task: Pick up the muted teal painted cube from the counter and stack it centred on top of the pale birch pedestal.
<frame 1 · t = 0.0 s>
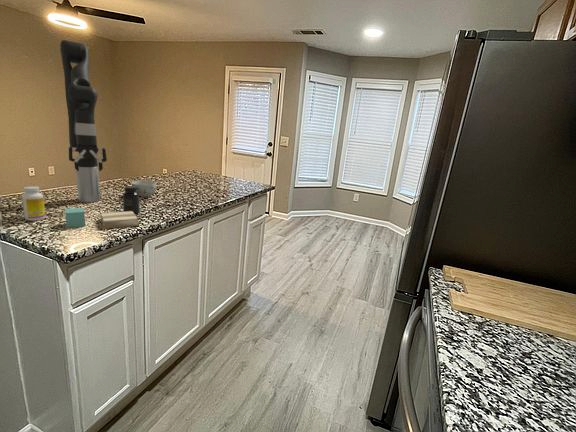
hand: (89, 170, 141), 17 cm above the countertop, tool pointing down, fingers open, 8 cm apart
teacup: (145, 196, 173), on the countertop
supplement bottle: (131, 212, 144), on the countertop
teal cube: (75, 224, 122), on the countertop
supplement bottle 2: (35, 219, 124), on the countertop
birch pedestal: (119, 222, 129), on the countertop
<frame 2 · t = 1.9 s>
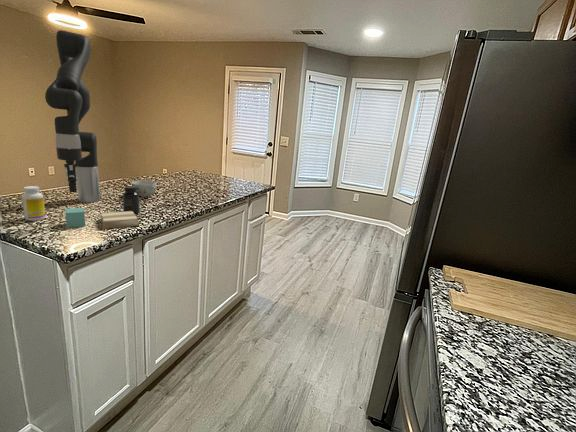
hand: (72, 189, 118), 14 cm above the countertop, tool pointing down, fingers open, 8 cm apart
nothing on the countertop moved.
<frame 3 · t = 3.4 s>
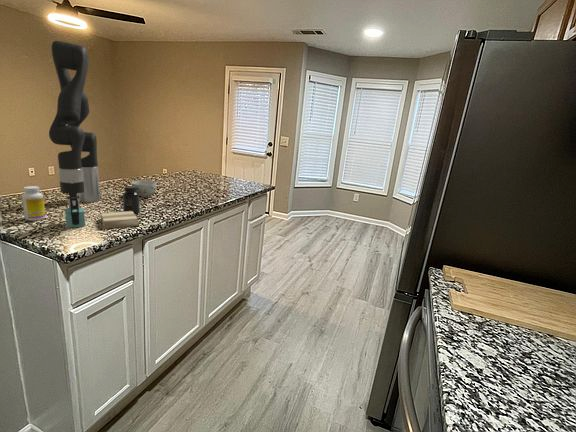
hand: (75, 221, 122), 1 cm above the countertop, tool pointing down, fingers closed on teal cube, 6 cm apart
teal cube: (75, 224, 122), on the countertop, touching gripper
everything else where it was.
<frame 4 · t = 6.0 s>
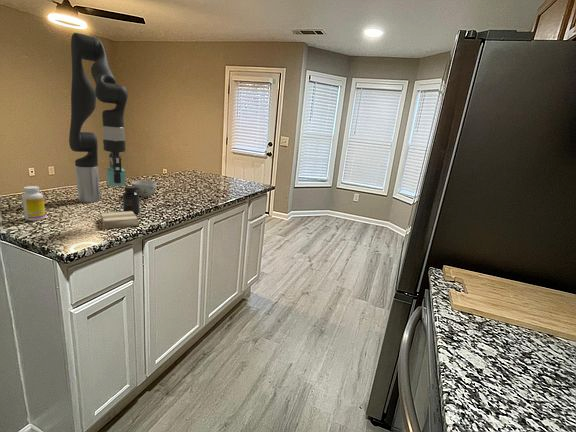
hand: (116, 181, 124), 18 cm above the countertop, tool pointing down, fingers closed on teal cube, 6 cm apart
teal cube: (116, 184, 125), point 16 cm above the countertop, touching gripper
everything else where it was.
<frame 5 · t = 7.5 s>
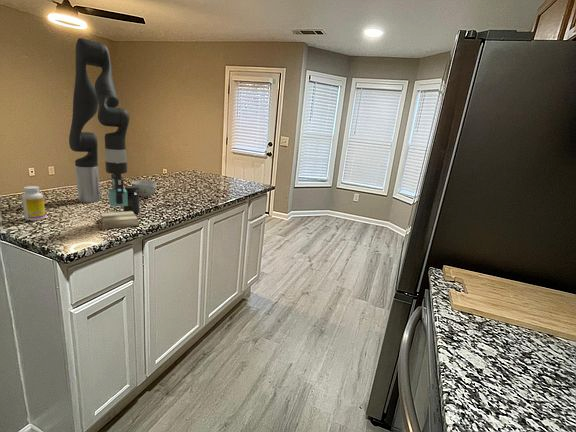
hand: (118, 201, 127), 9 cm above the countertop, tool pointing down, fingers closed on teal cube, 6 cm apart
teal cube: (118, 204, 127), point 8 cm above the countertop, touching gripper
everything else where it was.
when the fingers open (6 cm above the countertop, at t = 8.8 s): teal cube drops 1 cm, resting on birch pedestal.
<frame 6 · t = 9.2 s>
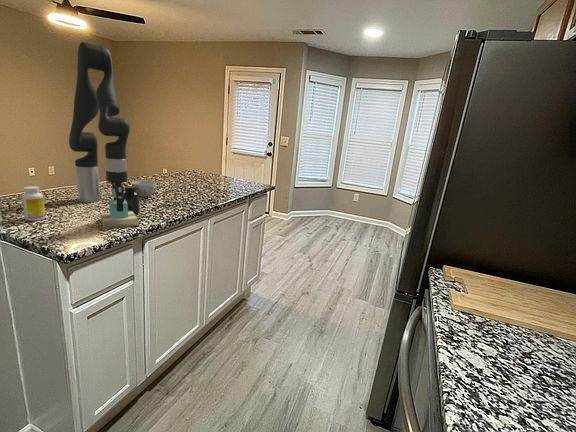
hand: (118, 208, 128), 6 cm above the countertop, tool pointing down, fingers open, 8 cm apart
teal cube: (118, 215, 129), point 3 cm above the countertop, touching birch pedestal
everything else where it was.
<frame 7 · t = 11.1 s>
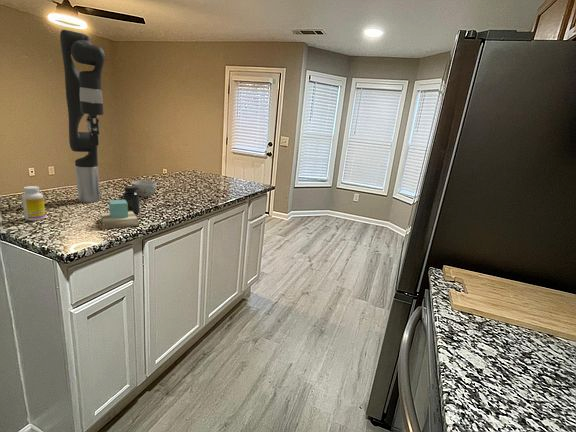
hand: (94, 143, 125), 31 cm above the countertop, tool pointing down, fingers open, 8 cm apart
nothing on the countertop moved.
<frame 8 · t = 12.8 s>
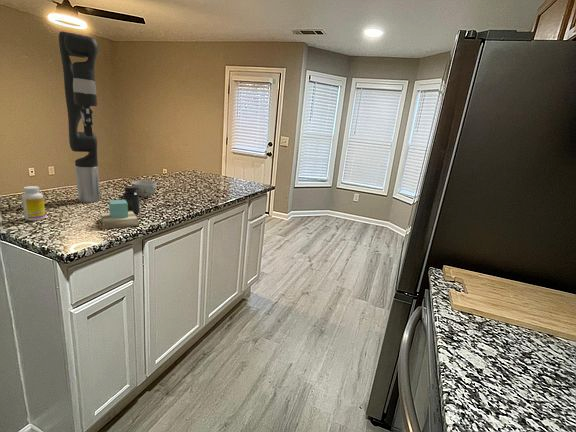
hand: (88, 135, 125), 34 cm above the countertop, tool pointing down, fingers open, 8 cm apart
nothing on the countertop moved.
at the end: teal cube inside the target area on the birch pedestal (0.0 cm from its centre), point 3.0 cm above the birch pedestal's base; teal cube tilted 0°; the gripper is holding nothing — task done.
